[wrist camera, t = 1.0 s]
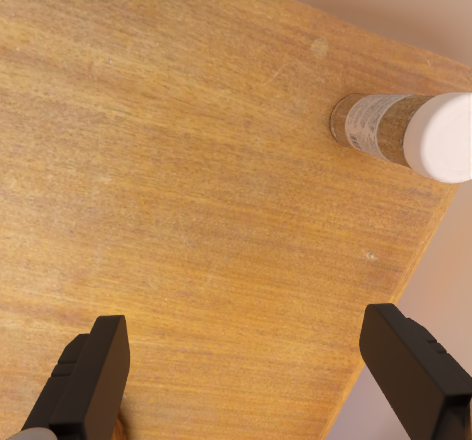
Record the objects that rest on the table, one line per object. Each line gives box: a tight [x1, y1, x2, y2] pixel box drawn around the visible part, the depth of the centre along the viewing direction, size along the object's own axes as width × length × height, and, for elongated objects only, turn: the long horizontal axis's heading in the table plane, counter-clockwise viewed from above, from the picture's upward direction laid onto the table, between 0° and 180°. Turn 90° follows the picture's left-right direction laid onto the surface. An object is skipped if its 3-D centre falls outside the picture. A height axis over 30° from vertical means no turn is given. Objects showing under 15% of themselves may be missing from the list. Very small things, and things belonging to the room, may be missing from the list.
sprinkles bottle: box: [330, 92, 472, 183], centre depth 22 cm, size 5×5×13 cm
